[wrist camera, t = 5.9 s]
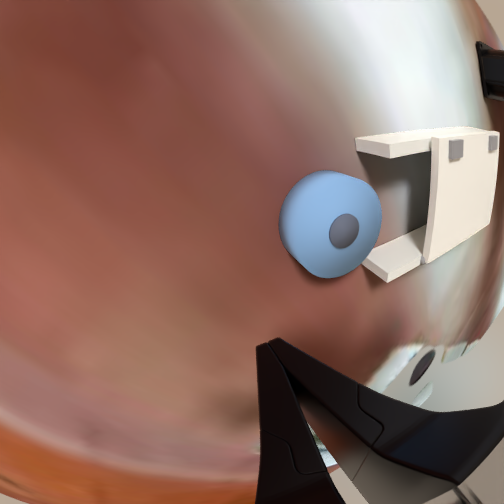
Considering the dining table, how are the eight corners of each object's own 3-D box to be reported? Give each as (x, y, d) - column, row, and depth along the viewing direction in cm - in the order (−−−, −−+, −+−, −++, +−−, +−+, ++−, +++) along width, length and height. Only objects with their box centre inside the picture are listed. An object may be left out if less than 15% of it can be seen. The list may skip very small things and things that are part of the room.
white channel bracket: (466, 126, 19) (495, 132, 16) (463, 213, 23) (488, 224, 20) (355, 138, 16) (394, 145, 13) (360, 263, 20) (391, 285, 17)
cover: (494, 130, 16) (502, 133, 15) (484, 221, 20) (491, 224, 19) (431, 136, 13) (442, 139, 13) (421, 260, 18) (430, 265, 17)
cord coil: (355, 161, 17) (383, 169, 14) (358, 244, 19) (382, 259, 17) (269, 182, 15) (290, 193, 13) (284, 273, 18) (303, 294, 16)
